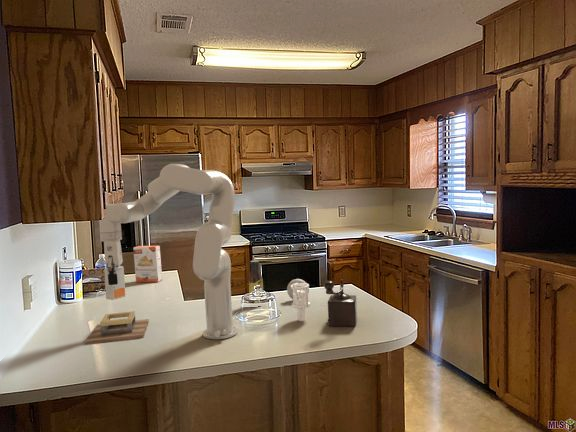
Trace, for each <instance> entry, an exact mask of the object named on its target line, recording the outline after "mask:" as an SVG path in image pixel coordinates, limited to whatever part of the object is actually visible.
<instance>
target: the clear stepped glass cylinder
mask: <svg viewBox="0 0 576 432" xmlns="http://www.w3.org/2000/svg"><path fill="white" fill-rule="evenodd" d="M306 283H307V282H306ZM306 283H295V284H293V285H291V289H292V290H293V299H292V303H291V308H293V309H296V311H297V321H298V322H304V321H306V320H307V319H306V309H307V308H310V307H311V303H310V301H309V293H308V288H309V289H310V284H309V283H307V284H306ZM299 286H305V287H299ZM304 290H305V291H304Z"/></svg>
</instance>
